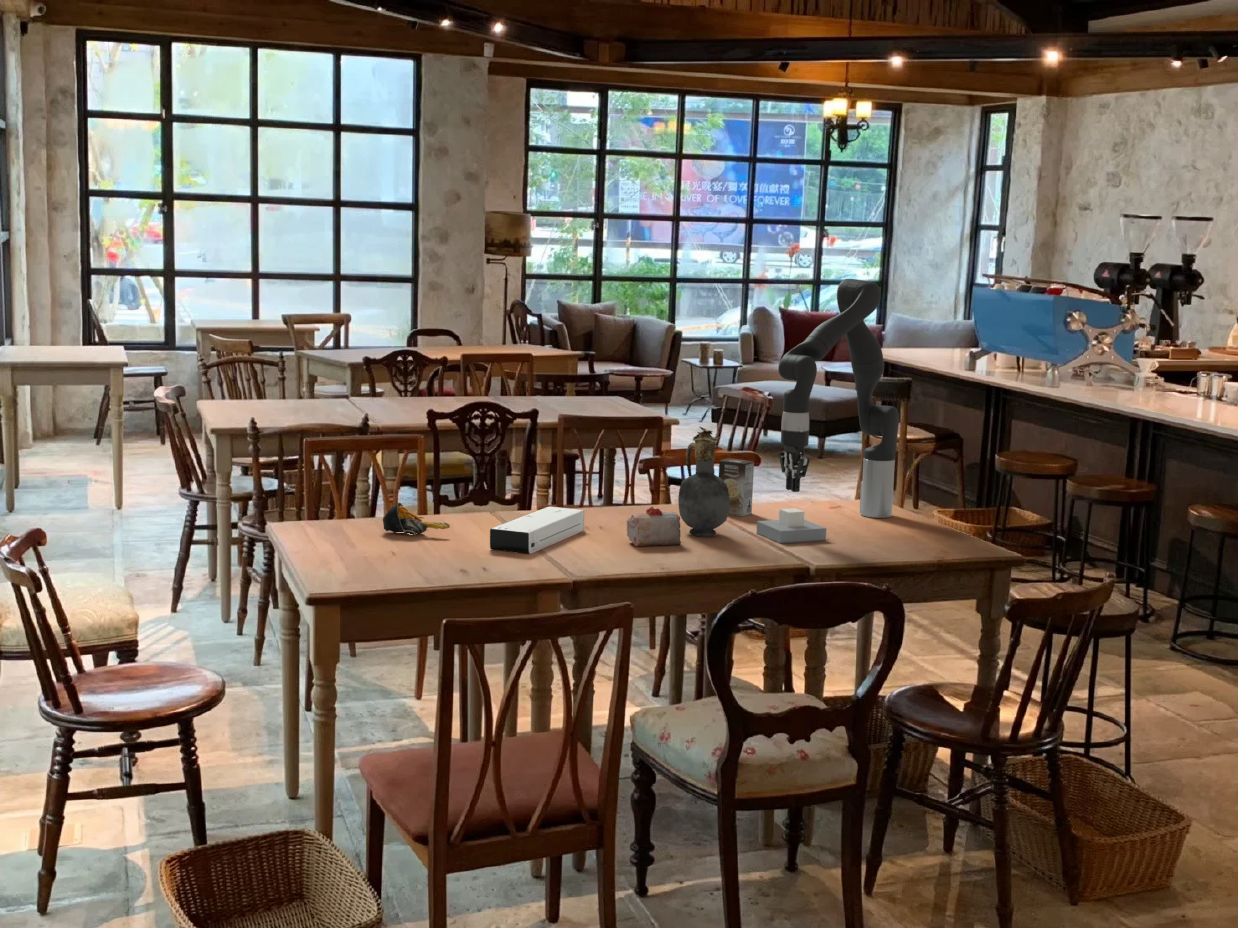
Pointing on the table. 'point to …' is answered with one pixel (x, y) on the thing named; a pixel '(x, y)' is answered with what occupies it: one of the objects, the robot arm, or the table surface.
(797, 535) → the socket plate
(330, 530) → the table surface
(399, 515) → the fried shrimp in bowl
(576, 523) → the laminator
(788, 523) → the plug
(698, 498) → the pitcher
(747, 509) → the coffee box
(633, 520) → the food item
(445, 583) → the table surface
